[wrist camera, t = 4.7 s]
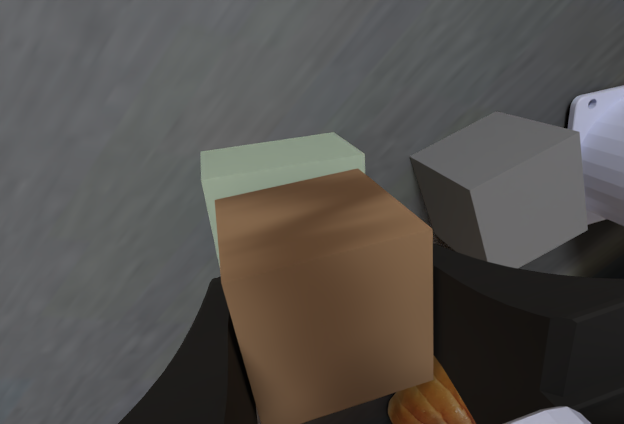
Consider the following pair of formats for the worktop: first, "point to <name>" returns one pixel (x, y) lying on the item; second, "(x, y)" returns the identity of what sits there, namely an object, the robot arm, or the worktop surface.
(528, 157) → the charcoal cube
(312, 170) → the green base block
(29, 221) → the worktop surface
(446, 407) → the pastry
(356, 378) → the walnut cube
